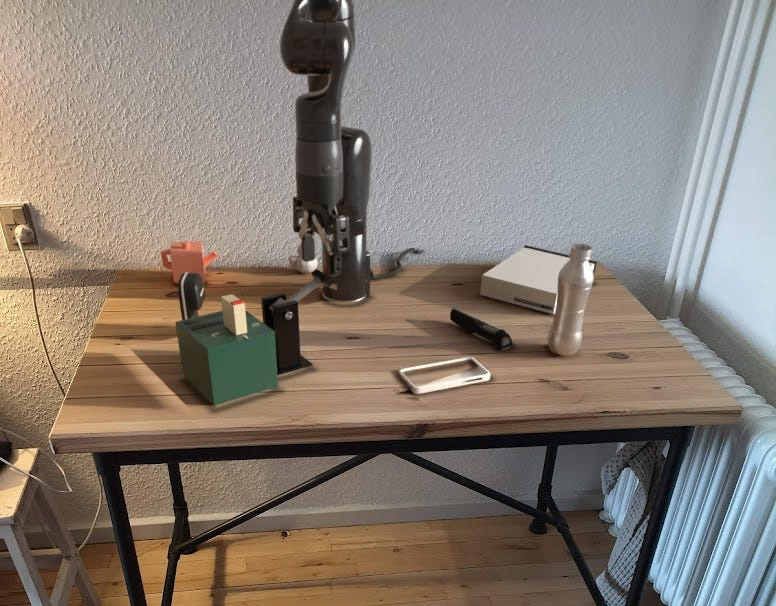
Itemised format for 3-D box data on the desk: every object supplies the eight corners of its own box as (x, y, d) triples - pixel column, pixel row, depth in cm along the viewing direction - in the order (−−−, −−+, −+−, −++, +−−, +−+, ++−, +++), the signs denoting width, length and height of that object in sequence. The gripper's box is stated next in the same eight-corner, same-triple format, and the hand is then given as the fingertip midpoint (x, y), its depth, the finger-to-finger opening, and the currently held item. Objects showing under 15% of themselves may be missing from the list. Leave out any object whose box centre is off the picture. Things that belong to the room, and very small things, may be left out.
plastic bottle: (581, 347, 149) (602, 243, 137) (576, 362, 144) (597, 256, 131) (548, 341, 150) (566, 238, 138) (542, 356, 145) (560, 250, 133)
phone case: (471, 362, 142) (397, 375, 138) (471, 355, 142) (397, 369, 137) (490, 380, 137) (414, 395, 132) (491, 373, 136) (415, 388, 131)
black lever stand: (293, 354, 143) (289, 288, 135) (312, 369, 138) (310, 301, 131) (254, 365, 139) (248, 297, 131) (273, 381, 135) (268, 312, 127)
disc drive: (592, 282, 175) (597, 261, 172) (554, 315, 160) (558, 292, 157) (522, 266, 182) (525, 245, 179) (479, 296, 167) (481, 273, 164)
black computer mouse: (204, 342, 146) (197, 283, 139) (184, 342, 146) (176, 283, 139) (210, 326, 151) (203, 269, 144) (190, 326, 151) (183, 269, 144)
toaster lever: (320, 276, 136) (314, 265, 134) (335, 286, 133) (330, 274, 131) (269, 314, 134) (263, 304, 132) (283, 325, 131) (278, 314, 129)
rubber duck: (319, 276, 174) (318, 240, 169) (290, 277, 173) (288, 241, 168) (316, 267, 178) (315, 232, 173) (287, 268, 177) (285, 233, 172)
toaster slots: (232, 310, 131) (232, 309, 131) (242, 317, 129) (242, 317, 129) (183, 322, 127) (183, 321, 127) (192, 330, 125) (192, 329, 125)
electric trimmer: (458, 320, 158) (459, 305, 156) (513, 346, 148) (515, 331, 146) (445, 324, 156) (446, 309, 154) (499, 351, 146) (501, 336, 144)
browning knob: (223, 325, 126) (220, 295, 123) (235, 323, 127) (231, 292, 124) (236, 335, 123) (233, 304, 120) (247, 332, 124) (244, 301, 121)
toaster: (245, 363, 140) (240, 305, 133) (279, 391, 132) (275, 331, 125) (184, 381, 134) (175, 320, 127) (215, 411, 126) (207, 348, 119)
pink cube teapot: (221, 284, 168) (217, 247, 163) (164, 287, 166) (159, 249, 161) (220, 271, 174) (216, 235, 169) (165, 274, 172) (159, 237, 167)
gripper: (363, 175, 120) (362, 277, 130) (316, 155, 129) (318, 252, 139) (322, 181, 116) (324, 285, 126) (276, 160, 125) (281, 259, 135)
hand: (321, 267), depth 133 cm, fingers open, 8 cm apart
